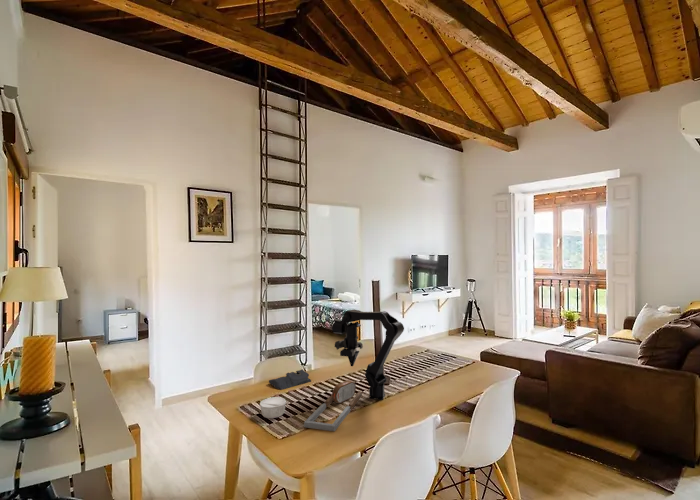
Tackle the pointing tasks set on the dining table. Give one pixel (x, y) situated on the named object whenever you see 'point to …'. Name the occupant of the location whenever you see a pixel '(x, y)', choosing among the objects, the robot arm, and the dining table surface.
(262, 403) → the ramekin
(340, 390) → the tin
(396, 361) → the dining table surface
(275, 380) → the dark slate chunk
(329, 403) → the pair of brown bars
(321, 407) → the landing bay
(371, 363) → the robot arm
